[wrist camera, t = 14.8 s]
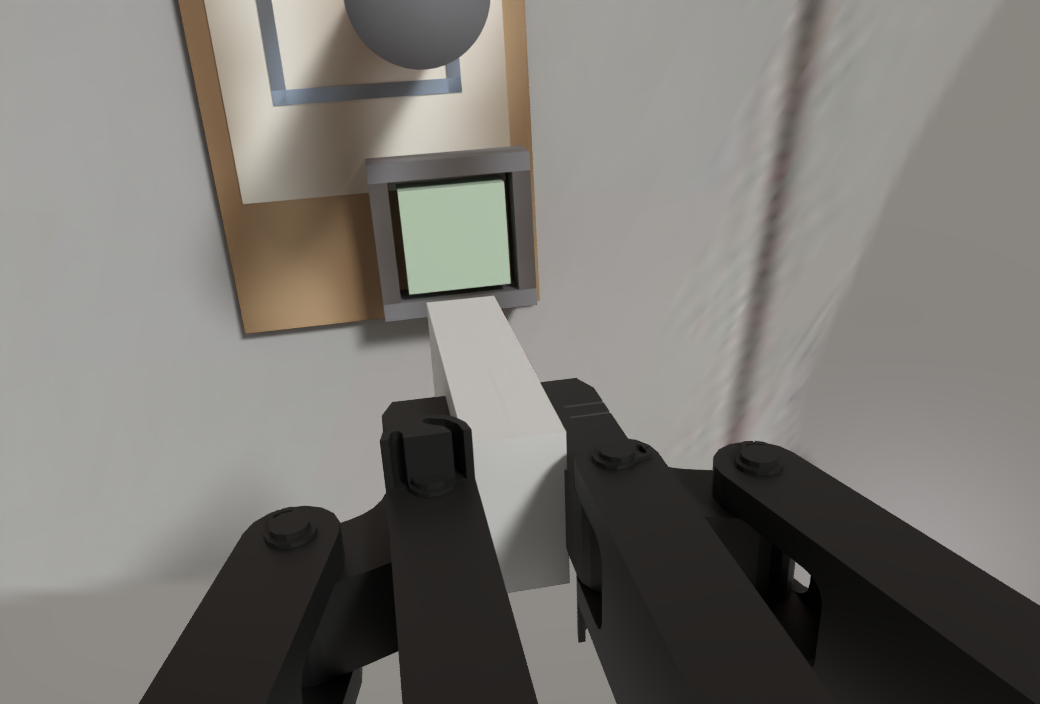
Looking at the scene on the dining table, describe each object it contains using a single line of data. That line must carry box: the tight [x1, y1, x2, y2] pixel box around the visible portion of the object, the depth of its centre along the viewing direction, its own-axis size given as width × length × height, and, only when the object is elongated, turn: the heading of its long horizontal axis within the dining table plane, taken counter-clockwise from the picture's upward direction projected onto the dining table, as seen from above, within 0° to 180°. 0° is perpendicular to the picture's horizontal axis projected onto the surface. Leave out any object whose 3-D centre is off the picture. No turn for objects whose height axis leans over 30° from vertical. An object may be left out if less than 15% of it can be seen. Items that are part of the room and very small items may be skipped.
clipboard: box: [178, 0, 540, 334], centre depth 34 cm, size 14×20×3 cm
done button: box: [396, 175, 511, 295], centre depth 36 cm, size 5×5×2 cm
